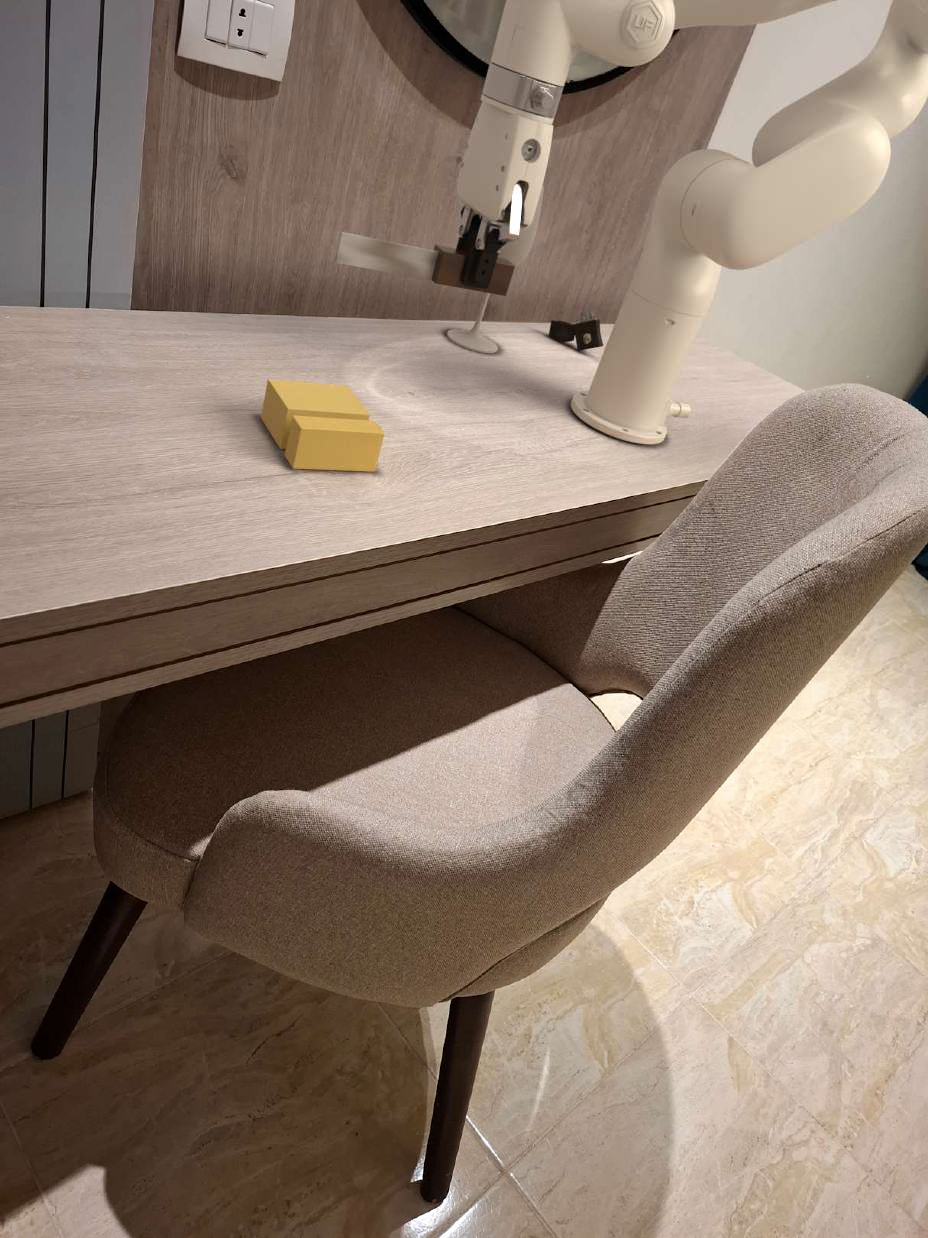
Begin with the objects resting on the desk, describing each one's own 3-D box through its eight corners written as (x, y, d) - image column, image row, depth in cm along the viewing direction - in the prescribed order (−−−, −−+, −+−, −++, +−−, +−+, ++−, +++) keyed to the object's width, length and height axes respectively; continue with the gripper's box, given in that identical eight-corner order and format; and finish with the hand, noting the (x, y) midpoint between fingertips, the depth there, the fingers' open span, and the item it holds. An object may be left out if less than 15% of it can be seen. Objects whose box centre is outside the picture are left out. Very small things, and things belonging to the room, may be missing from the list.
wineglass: (494, 358, 120) (546, 193, 109) (440, 339, 120) (487, 171, 109) (502, 343, 126) (553, 186, 115) (451, 325, 126) (497, 166, 115)
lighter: (549, 356, 136) (544, 320, 135) (555, 354, 138) (550, 319, 136) (598, 347, 132) (592, 310, 130) (603, 345, 133) (598, 309, 132)
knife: (496, 288, 102) (505, 258, 101) (506, 296, 101) (515, 265, 99) (331, 258, 92) (338, 224, 90) (339, 266, 91) (346, 231, 89)
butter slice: (365, 459, 85) (375, 420, 83) (375, 472, 83) (385, 432, 81) (284, 455, 81) (292, 414, 79) (292, 469, 79) (300, 427, 77)
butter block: (338, 423, 90) (347, 385, 87) (360, 452, 86) (370, 414, 83) (260, 417, 85) (267, 378, 83) (280, 449, 81) (287, 408, 79)
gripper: (593, 124, 85) (531, 314, 95) (515, 87, 96) (467, 261, 106) (527, 104, 82) (469, 304, 92) (454, 68, 92) (410, 251, 102)
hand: (468, 280), depth 99 cm, fingers closed on knife, 2 cm apart
